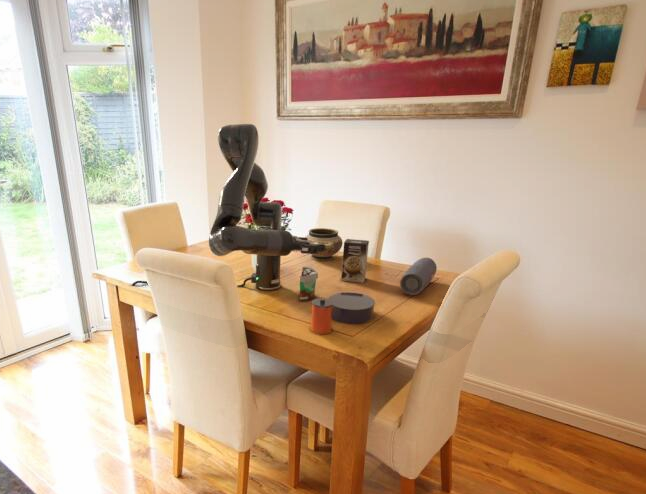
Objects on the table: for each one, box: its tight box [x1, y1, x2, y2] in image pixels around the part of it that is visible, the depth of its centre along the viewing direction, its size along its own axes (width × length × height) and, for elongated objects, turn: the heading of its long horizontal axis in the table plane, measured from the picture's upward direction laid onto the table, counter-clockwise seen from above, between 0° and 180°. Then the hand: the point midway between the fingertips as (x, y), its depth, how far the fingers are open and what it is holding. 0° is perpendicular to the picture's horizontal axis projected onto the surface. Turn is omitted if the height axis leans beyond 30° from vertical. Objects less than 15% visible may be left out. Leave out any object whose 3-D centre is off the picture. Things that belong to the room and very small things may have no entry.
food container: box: [299, 266, 319, 302], centre depth 170 cm, size 12×6×10 cm, turn 168°
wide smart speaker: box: [327, 292, 376, 324], centre depth 155 cm, size 15×15×5 cm
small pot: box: [310, 297, 333, 335], centre depth 144 cm, size 7×7×10 cm
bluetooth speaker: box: [399, 257, 438, 296], centre depth 175 cm, size 23×9×10 cm, turn 147°
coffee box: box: [340, 238, 370, 284], centre depth 185 cm, size 9×6×16 cm
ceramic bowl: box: [305, 227, 344, 262], centre depth 215 cm, size 24×18×15 cm
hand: (315, 244), depth 143 cm, fingers open, 8 cm apart
